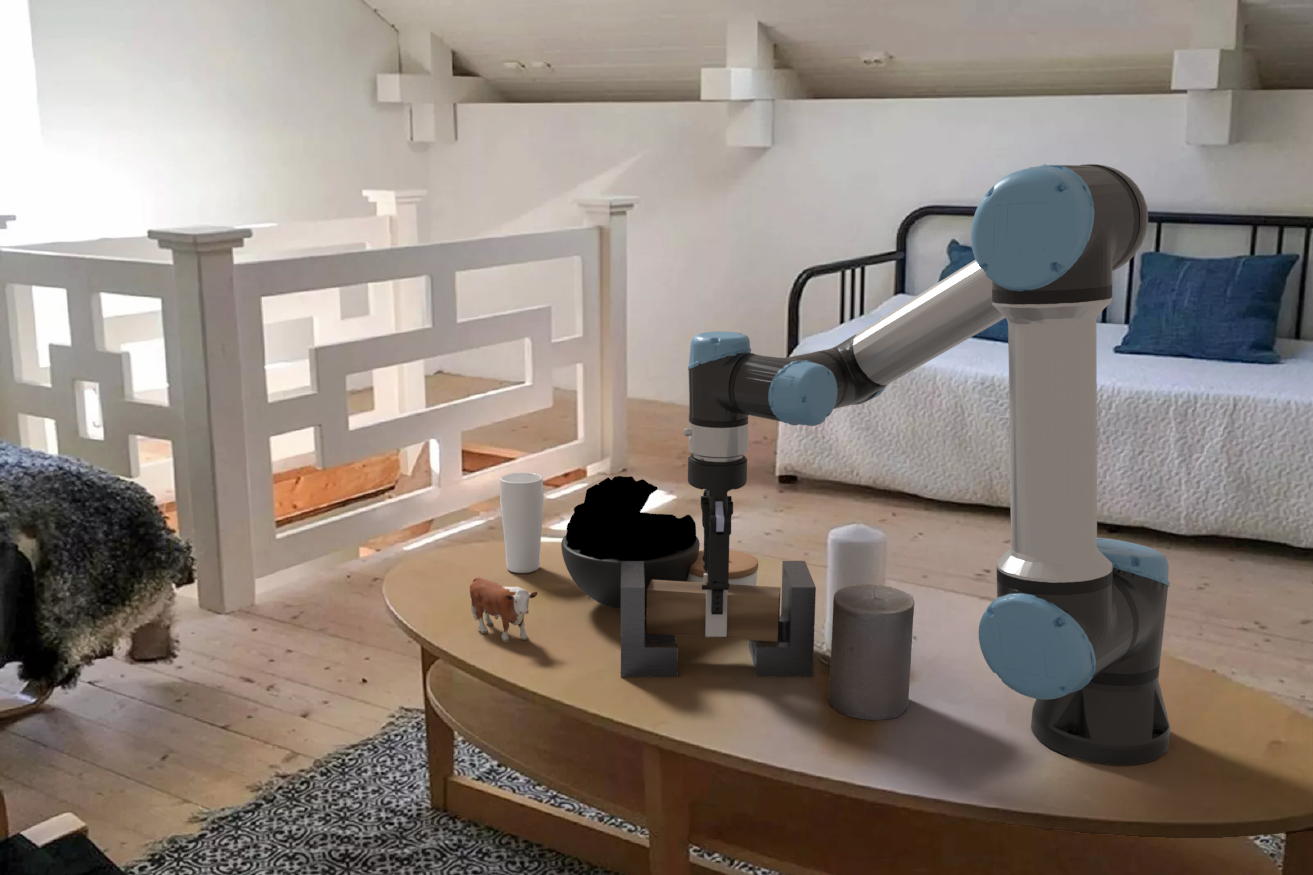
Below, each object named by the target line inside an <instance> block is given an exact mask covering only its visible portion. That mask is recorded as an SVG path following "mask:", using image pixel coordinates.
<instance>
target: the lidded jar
mask: <svg viewBox="0 0 1313 875" xmlns="http://www.w3.org/2000/svg"><path fill="white" fill-rule="evenodd" d="M703 555H704V549H703V550H699V553H698V558H697V560H696V561H695V563H694V564H693V565H691V567H690V570H689V575H688V578H687V580H686V582H700V583H704V573H708V572H705V570H704V568H703V565H704V564H705V563H704V561H703ZM758 569H759V560H758V559H757V558H756V556H754V555H752V554H750V553H747V552H744V551H742V550H741V551H740V550H734V549H729V584H734V585H751V586H757V582H758V581H757V580H758Z"/></svg>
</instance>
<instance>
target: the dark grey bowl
mask: <svg viewBox="0 0 1313 875" xmlns="http://www.w3.org/2000/svg"><path fill="white" fill-rule="evenodd" d="M658 490H659V489H658V487H657V486H656V485H654V484H652V483H649V482H648V481H647V480H645V479H643V478H641V479H639V480H636V479H635V478H634V476H623V475H618V476H614V477H613V478H610V477H607V478H605V479H603V480H601V481H599V482H598V484H597V483H596V484H594V485H592V486H590V487H589V488H587V489H586V492H585V497H584V501H583V502H582V503H579V504H578V505H576V506H575V507H574V508H573V513H572V515H571V517H570V519H569V522H567V525H566V528H565V529H566V534H565V535H564V536H563V538H562V539H561V543H560V546H561V553H562V558H563V562H564V565H565V567H566V570H567V572H568V573H569V576H570V577H571V579H572V581H573V582H574V583H575V584H576V586H577V587H578V588H579V589H580V590H581V591H582V592H583V594H585V595H586V596H588V597H589V598H591V599H592V600H593V601H594V602H596V603H598V604H600V605H603V606H605V607H608V608H611V609H615V610H619V611H621V561H644V583H645V610H647V588H648V586H649V584H650V582H651V580H667V581H683V582H686V580H687V578H688V575H689V570H690V567H691V565H693V564H694V563H695V561H696V560H697V558H698V553H699V551H700V547H701V545H700V540H699V537H698V536H697V527H696V525H697V524H696V521H695V520H694V518H693V517H692V516H691V514H686V515H684V516H682V517H680V518H679V517H677V516H676V515H674V514H669V513H649V512H641V511H642V510H643V509H644V507H645V505H646V503H647V502H648V500H649V498H650V496H651V494H653V493H655V492H656V491H658Z"/></svg>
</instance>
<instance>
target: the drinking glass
mask: <svg viewBox="0 0 1313 875" xmlns="http://www.w3.org/2000/svg"><path fill="white" fill-rule="evenodd" d="M543 480H544V478H543V476H542V475H541V474H538V473H534V472H524V471H523V472H512V473H507V474H504V475H502V476H500V478H499V483H500V484H499V503H500V513H501V523H502V532H503V539H504V540H503V541H504V551H505V566H506V569H507V570H508V571H509V572H512V573H515V574H527V573H533V572H535V571H538V569H539V568H540V566H541V544H542V542H541V541H542V529H543V528H542V527H543V514H544V481H543Z"/></svg>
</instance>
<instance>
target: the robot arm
mask: <svg viewBox="0 0 1313 875" xmlns="http://www.w3.org/2000/svg"><path fill="white" fill-rule="evenodd" d="M1148 225H1149V211H1148V205H1147V203H1146V199H1145V197H1144V194H1143V193H1142V191H1141V189H1140V188H1139V186H1138V184H1137V183H1135V181H1134V180H1133V179H1132V178H1131V177H1129V176H1128V175H1127V174H1126V173H1124V172H1122V171H1120V170H1119V169H1117V168H1115V167H1111V166H1107V165H1104V164H1095V163H1093V164H1092V163H1091V164H1090V163H1089V164H1073V165H1070V164H1067V165H1066V164H1045V163H1044V164H1042V165H1037V166H1030V167H1028V168H1024V169H1019V170H1016V171H1014V172H1011V173H1009V174H1007V175H1005V176H1003V177H1002V178H1001V179H1000V180H997V181H996V183H994V185H992V186H991V187H990V188H989V190H988V191H987V192H986V193H985V194H984V195H983V197H982V198H981V200H980V201H979V203H978V205H977V207H976V209H975V213H974V216H973V219H972V223H971V229H970V230H971V231H970V242H971V249H972V250H971V251H972V254H973V255H974V260H972V261H971V262H968V264H966V265H963V267H961V268H959V269H957V270H956V271H954V272H952V273H951V274H950V275H948V276H946V277H945V278H943V279H942V280H940V281H939V282H936V283H935V284H934V285H931V287H929V288H927V289H925V290H924V291H922V292H921V293H919V294H917V295H916V296H914V297H912V298H911V299H909V300H908V301H907V302H905V303H903V304H901V305H900V306H898V307H897V308H895V309H893V310H892V311H890V312H888V313H887V314H885V315H884V316H882V317H881V318H879V319H877V320H876V321H874V322H872V323H871V324H869V325H868V326H865V327H864V328H863V329H862V330H860V331H858V332H857V333H856V334H854V335H852V336H850V337H848V338H847V339H845V340H844V341H842V342H840V343H839V344H837V345H835V346H834V347H831V348H828V349H827V348H826V349H823V350H816V351H813V352H807V353H803V354H797V355H793V356H789V357H778V356H777V357H775V356H768V355H761V354H755V353H753V352H752V349H751V340H750V338H749V336H748V335H747V334H745V333H744V334H743V333H742V332H735V331H722V330H721V331H720V330H719V331H705V332H700V333H698V334H696V335H695V336H693V337H692V338H691V342H690V349H689V359H688V360H689V361H688V365H687V370H688V394H689V396H688V400H689V402H688V403H689V405H688V407H689V408H688V409H689V410H688V426H689V428H685V429H684V430H683V435H684V436H685V437H688V451H689V452H690V453H691V454H690V455H689V457H687V481H688V482H687V483H688V484H689V485H690V486H691V487H694V488H695V489H699V490H704V491H703V492H702V493H703V495H701V496H700V509H701V525H702V528H703V550H704V555H703V561H704V563H705V564H704V565H703V568H704V570H705V572H708V573H704V583H707V585H702V590H706V617H705V636H706V637H705V638H709V637H727V590H728V589H729V550H730V536H731V534H732V516H733V515H734V501H733V500H732V495H728V492H730V491H732V490H739V489H741V488H743V487H744V486H745V485H746V484H747V481H748V480H747V479H748V458H747V457H746V454H747V453H748V452H749V423H750V422H749V416H752V417H756V418H757V417H758V418H761V419H766V420H772V421H777V422H782V423H784V424H788V425H790V426H799V425H800V426H801V425H802V426H808V427H813V426H818V425H821V424H823V423H824V422H825V421H826V418H827V417H829V416H831V414H832V413H833V411H834V410H836V409H839V408H844V407H848V406H853V405H854V406H855V405H856V406H857V405H862V404H864V403H866V402H868V401H870V400H873V399H874V398H876V397H878V396H880V395H881V394H882V393H883V392H884V391H885V390H886V388H887V386H888V385H889V384H891V383H893V382H895V381H896V380H898V379H899V378H903V377H904V376H905V375H907V374H909V373H910V372H913V371H914V370H917V368H919V367H921V366H923V365H924V364H927V363H928V362H930V361H932V360H933V359H935V358H937V357H938V356H941V355H942V354H945V353H946V352H948V351H949V350H951V349H953V348H954V347H956V346H958V345H960V344H962V343H963V342H965V341H967V340H969V339H971V338H972V337H974V336H975V335H977V334H979V333H981V332H983V331H985V330H986V329H988V328H990V327H992V326H993V325H996V324H998V322H1000V321H1002V320H1004V319H1006V321H1007V328H1008V329H1007V331H1008V332H1007V335H1008V336H1007V337H1008V338H1007V339H1008V343H1007V344H1008V348H1007V349H1008V351H1007V352H1008V408H1009V409H1008V412H1009V415H1008V417H1009V420H1008V421H1009V469H1010V470H1009V478H1010V479H1009V482H1010V484H1009V486H1010V488H1009V489H1010V491H1009V492H1010V548H1009V549H1008V550H1007V551H1006V552H1005V553H1004V554H1003V555H1002V556H1001V557H1000V558H998V560H997V561H996V598H995V599H993V601H992V602H991V603H990V604H989V605H988V606H987V608H986V609H985V611H984V612H983V614H982V616H981V619H980V621H979V626H978V643H979V647H980V651H981V653H982V656H983V658H984V660H985V662H986V664H987V666H988V667H989V669H990V670H991V671H992V672H993V673H994V674H996V675H997V676H998V677H999V679H1000V680H1001V682H1002V683H1003V684H1004V685H1005V686H1006V687H1008V688H1009V689H1011V690H1012V691H1015V692H1016V693H1018V694H1020V695H1023V696H1025V697H1027V698H1031V699H1034V700H1035V701H1034V702H1033V703H1034V704H1033V706H1032V709H1031V710H1032V711H1031V722H1030V723H1031V724H1030V729H1031V731H1032V734H1033V735H1034V736H1035V737H1036V739H1037V740H1038V741H1039V742H1040V743H1042V744H1044V745H1045V746H1047V747H1048V748H1049V749H1051V750H1053V751H1056V752H1058V753H1060V754H1063V755H1065V756H1069V757H1071V758H1074V759H1078V760H1081V761H1086V762H1091V763H1097V764H1103V765H1118V766H1119V765H1123V766H1125V765H1138V764H1143V763H1149V762H1151V761H1155V760H1157V759H1159V758H1161V757H1162V756H1164V755H1165V754H1166V753H1167V752H1168V749H1169V746H1170V738H1171V737H1170V736H1171V725H1170V720H1169V716H1168V713H1167V708H1166V705H1165V701H1164V697H1163V693H1162V688H1161V685H1160V681H1159V680H1160V679H1159V678H1160V677H1159V676H1160V666H1161V656H1162V650H1163V649H1162V648H1163V639H1164V638H1163V637H1164V629H1165V620H1166V612H1167V602H1168V599H1167V598H1168V590H1169V587H1170V585H1171V583H1170V580H1169V570H1170V569H1169V567H1170V565H1169V561H1168V558H1167V557H1166V556H1165V555H1164V554H1163V553H1162V552H1160V551H1158V550H1156V549H1154V548H1152V547H1148V546H1145V545H1142V544H1139V543H1138V544H1137V543H1135V542H1134V543H1133V542H1131V541H1130V542H1129V541H1126V540H1125V541H1124V540H1119V539H1113V538H1104V537H1103V538H1102V537H1098V506H1097V505H1098V479H1097V478H1098V477H1097V476H1098V475H1097V474H1098V472H1097V468H1098V460H1097V458H1098V456H1097V454H1098V452H1097V450H1098V449H1097V448H1098V442H1097V441H1098V439H1097V438H1098V437H1097V435H1098V434H1097V433H1098V431H1097V428H1098V427H1097V425H1098V422H1097V421H1098V420H1097V417H1098V414H1097V410H1098V409H1097V406H1098V405H1097V402H1098V401H1097V399H1098V398H1097V394H1098V393H1097V392H1098V391H1097V390H1098V389H1097V388H1098V387H1097V385H1098V384H1097V383H1098V382H1097V381H1098V380H1097V366H1098V364H1097V362H1098V361H1097V354H1098V353H1097V318H1098V317H1099V315H1100V314H1101V312H1103V311H1104V309H1105V308H1106V307H1108V306H1109V305H1110V303H1112V302H1113V272H1115V271H1116V270H1118V269H1120V268H1122V267H1123V266H1125V265H1126V264H1127V263H1128V262H1129V261H1130V260H1131V259H1132V258H1133V257H1134V256H1136V254H1137V253H1138V251H1139V249H1140V248H1141V246H1142V244H1143V242H1144V239H1145V238H1146V234H1147V230H1148Z"/></svg>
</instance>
